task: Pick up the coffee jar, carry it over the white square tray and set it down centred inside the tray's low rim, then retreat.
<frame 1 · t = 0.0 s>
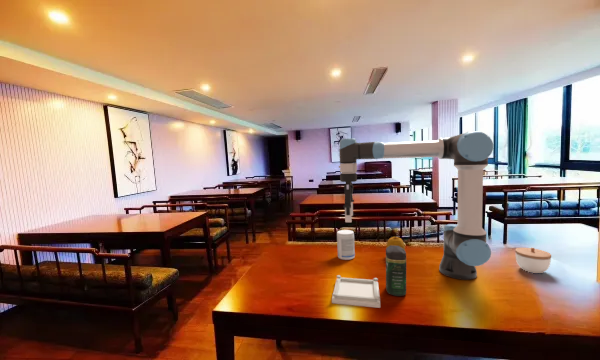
hand: (349, 218, 121), 28 cm above the table, fingers open, 13 cm apart
lidded bowl: (532, 271, 123), on the table
supplement tub: (346, 257, 148), on the table
coffee jar: (396, 291, 109), on the table
white square tray: (356, 293, 108), on the table
apple: (395, 257, 145), on the table
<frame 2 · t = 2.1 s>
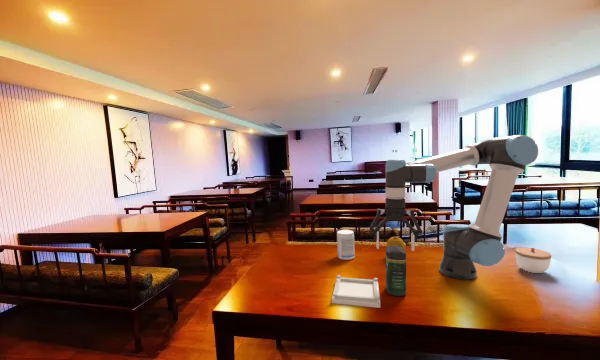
hand: (394, 248, 107), 18 cm above the table, fingers open, 13 cm apart
nothing on the table moved.
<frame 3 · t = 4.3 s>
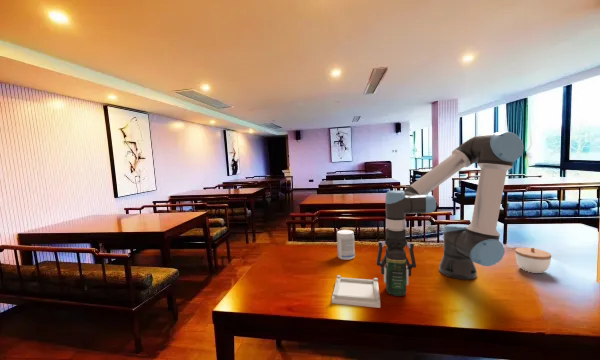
hand: (395, 282, 108), 4 cm above the table, fingers closed on coffee jar, 8 cm apart
coffee jar: (396, 291, 109), on the table, touching gripper
everything else where it was.
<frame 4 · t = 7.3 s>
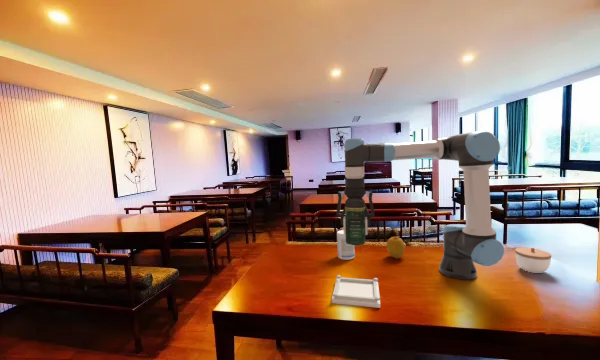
hand: (355, 233, 106), 25 cm above the table, fingers closed on coffee jar, 8 cm apart
coffee jar: (355, 242, 106), point 21 cm above the table, touching gripper
everything else where it was.
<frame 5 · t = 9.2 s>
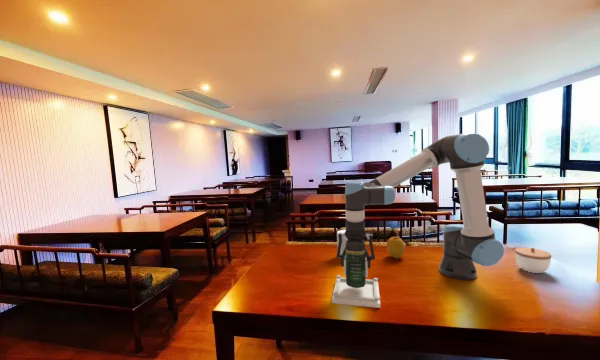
hand: (355, 274, 107), 8 cm above the table, fingers closed on coffee jar, 8 cm apart
coffee jar: (356, 283, 107), point 4 cm above the table, touching gripper
everything else where it was.
when the fingers open (6 cm above the table, at t = 10.7 s): coffee jar stays where it is, resting on white square tray.
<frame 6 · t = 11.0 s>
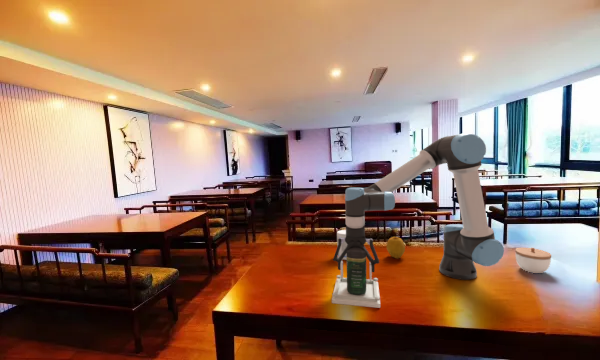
hand: (356, 278, 107), 6 cm above the table, fingers open, 11 cm apart
coffee jar: (356, 290, 108), point 1 cm above the table, touching white square tray
everything else where it was.
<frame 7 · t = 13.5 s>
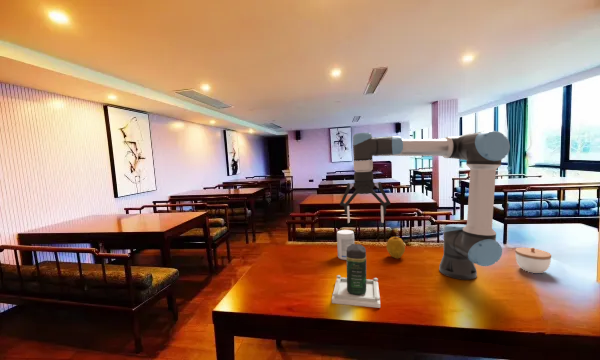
hand: (365, 222, 108), 29 cm above the table, fingers open, 13 cm apart
nothing on the table moved.
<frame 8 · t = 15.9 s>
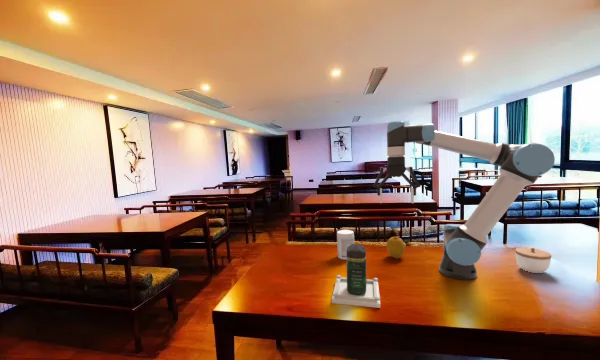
hand: (396, 202, 120), 35 cm above the table, fingers open, 13 cm apart
nothing on the table moved.
at the end: coffee jar inside the target area on the white square tray (0.2 cm from its centre), point 1.3 cm above the white square tray's base; coffee jar tilted 0°; the gripper is holding nothing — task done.
